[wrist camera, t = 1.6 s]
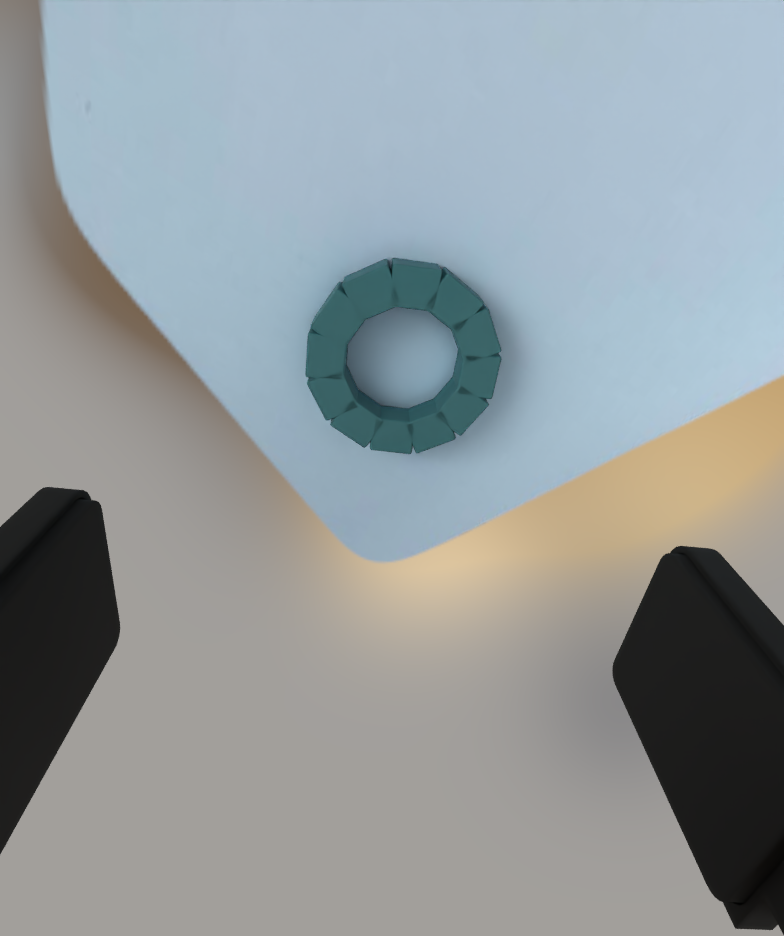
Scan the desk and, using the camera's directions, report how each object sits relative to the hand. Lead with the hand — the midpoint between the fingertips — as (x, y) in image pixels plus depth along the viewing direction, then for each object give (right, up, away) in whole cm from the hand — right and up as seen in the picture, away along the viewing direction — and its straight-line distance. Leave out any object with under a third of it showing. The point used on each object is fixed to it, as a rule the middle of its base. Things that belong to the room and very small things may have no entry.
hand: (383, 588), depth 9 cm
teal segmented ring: (+1, +7, +15) cm, 16 cm away
